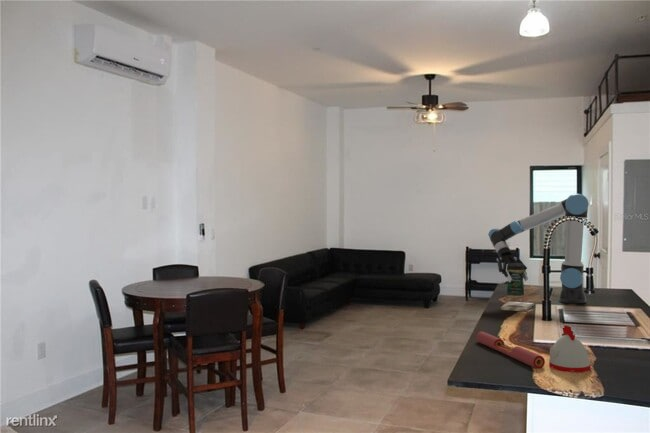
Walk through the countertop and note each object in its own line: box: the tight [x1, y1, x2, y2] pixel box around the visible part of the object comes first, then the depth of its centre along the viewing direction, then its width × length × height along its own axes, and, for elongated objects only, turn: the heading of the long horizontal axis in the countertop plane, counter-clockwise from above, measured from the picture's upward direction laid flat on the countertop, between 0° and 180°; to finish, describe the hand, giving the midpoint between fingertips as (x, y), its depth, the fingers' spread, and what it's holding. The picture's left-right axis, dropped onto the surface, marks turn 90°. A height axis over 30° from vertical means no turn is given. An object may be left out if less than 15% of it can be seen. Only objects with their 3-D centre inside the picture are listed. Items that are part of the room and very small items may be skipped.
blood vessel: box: [475, 331, 546, 369], centre depth 227 cm, size 42×5×5 cm, turn 14°
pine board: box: [500, 301, 535, 312], centre depth 324 cm, size 14×20×2 cm
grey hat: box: [548, 325, 591, 373], centre depth 208 cm, size 14×14×15 cm
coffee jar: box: [506, 263, 525, 297], centre depth 324 cm, size 10×8×19 cm
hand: (518, 280), depth 321 cm, fingers closed on coffee jar, 10 cm apart
